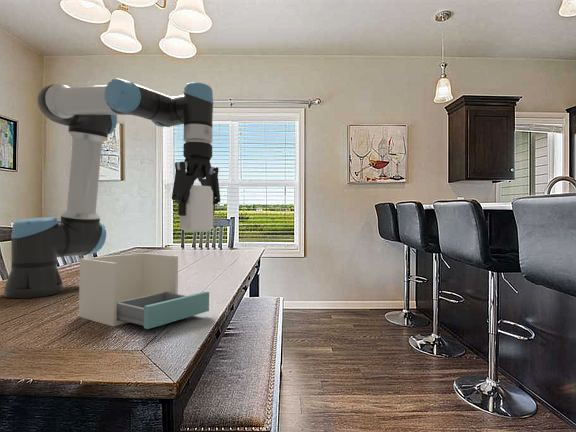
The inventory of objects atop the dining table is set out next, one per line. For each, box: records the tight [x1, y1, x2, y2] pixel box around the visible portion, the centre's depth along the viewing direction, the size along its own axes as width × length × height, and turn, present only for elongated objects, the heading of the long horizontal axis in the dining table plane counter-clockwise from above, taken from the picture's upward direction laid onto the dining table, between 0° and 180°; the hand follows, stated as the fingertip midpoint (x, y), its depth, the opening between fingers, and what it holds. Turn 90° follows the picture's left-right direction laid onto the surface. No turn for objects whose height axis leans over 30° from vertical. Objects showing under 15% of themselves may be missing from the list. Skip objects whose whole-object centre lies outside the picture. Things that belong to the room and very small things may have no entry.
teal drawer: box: [117, 291, 210, 330], centre depth 87 cm, size 14×18×5 cm
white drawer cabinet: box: [78, 252, 179, 327], centre depth 93 cm, size 14×18×14 cm
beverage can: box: [181, 184, 214, 233], centre depth 99 cm, size 8×8×12 cm
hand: (197, 228), depth 99 cm, fingers closed on beverage can, 8 cm apart
